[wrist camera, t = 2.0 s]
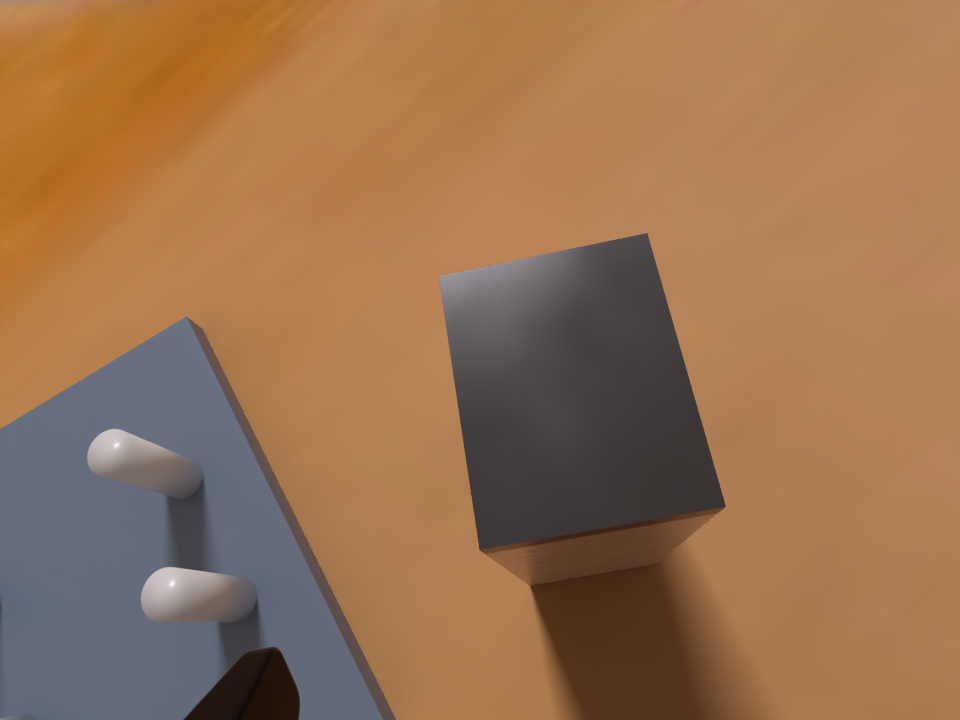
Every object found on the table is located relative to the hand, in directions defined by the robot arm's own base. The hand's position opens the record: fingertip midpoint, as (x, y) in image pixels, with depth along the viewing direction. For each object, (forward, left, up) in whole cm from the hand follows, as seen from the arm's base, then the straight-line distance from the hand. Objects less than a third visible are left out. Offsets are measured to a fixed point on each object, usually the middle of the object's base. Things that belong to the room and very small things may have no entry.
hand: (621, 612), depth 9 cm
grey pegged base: (-6, +13, -10) cm, 17 cm away
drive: (+3, +2, -10) cm, 11 cm away
